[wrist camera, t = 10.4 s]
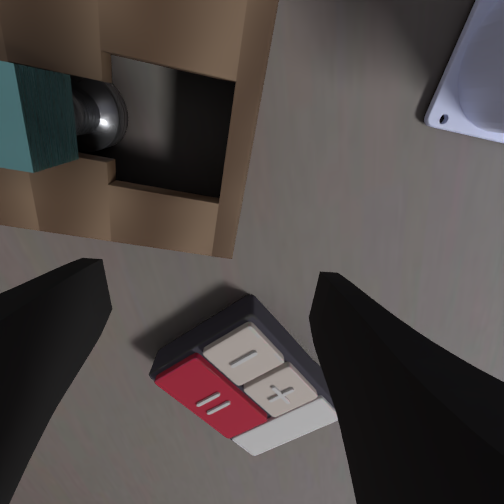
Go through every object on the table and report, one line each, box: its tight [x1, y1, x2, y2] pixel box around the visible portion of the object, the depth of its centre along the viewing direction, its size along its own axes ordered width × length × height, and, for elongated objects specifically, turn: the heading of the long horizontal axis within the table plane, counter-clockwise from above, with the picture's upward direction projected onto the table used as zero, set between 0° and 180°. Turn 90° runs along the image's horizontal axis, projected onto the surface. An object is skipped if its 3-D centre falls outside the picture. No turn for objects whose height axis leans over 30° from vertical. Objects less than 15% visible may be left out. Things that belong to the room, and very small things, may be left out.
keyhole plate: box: [0, 0, 279, 259], centre depth 14 cm, size 14×12×4 cm
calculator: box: [149, 295, 338, 456], centre depth 25 cm, size 11×4×15 cm
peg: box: [0, 61, 128, 173], centre depth 12 cm, size 4×4×8 cm
